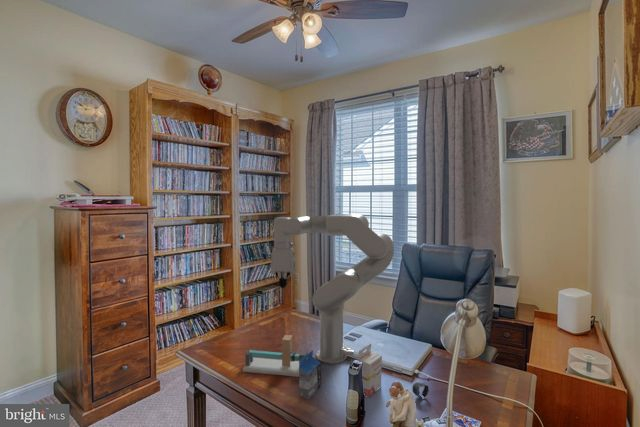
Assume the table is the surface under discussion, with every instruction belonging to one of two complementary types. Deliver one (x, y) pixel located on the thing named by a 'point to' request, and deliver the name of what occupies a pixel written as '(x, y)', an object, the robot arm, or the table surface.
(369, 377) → the ink cartridge box
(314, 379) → the label tape box
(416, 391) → the wristwatch
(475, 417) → the table surface
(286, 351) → the tan slotted box
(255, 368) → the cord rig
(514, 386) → the table surface
